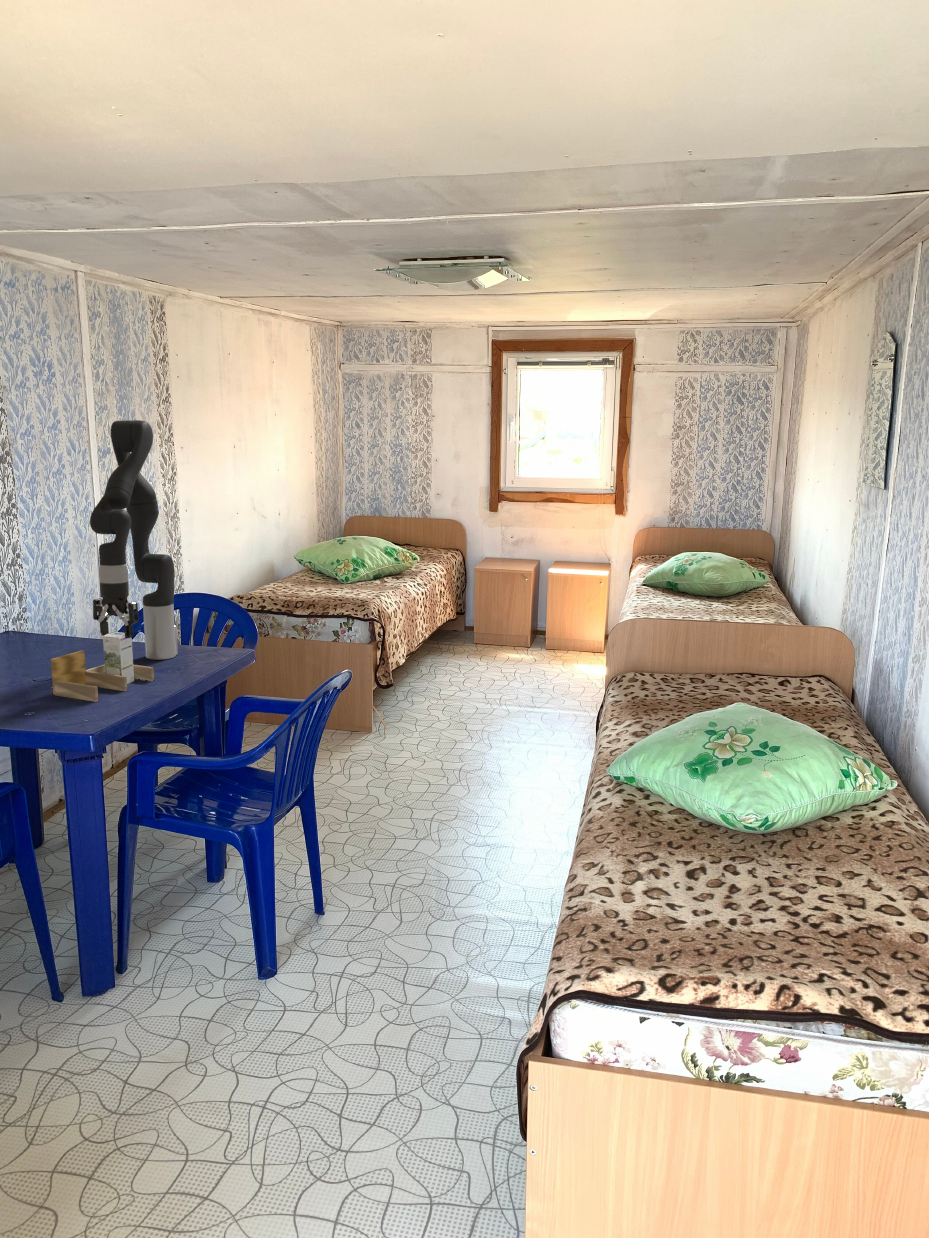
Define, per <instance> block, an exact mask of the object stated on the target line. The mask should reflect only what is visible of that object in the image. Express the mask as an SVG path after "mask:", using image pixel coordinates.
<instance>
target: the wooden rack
mask: <svg viewBox="0 0 929 1238" xmlns="http://www.w3.org/2000/svg"><path fill="white" fill-rule="evenodd" d="M85 653H86V651H85V650H78V651H75V652H71V653H68V654H67V653H66V654H64V655H59V656H56V657H53V658H50V667H51V669H50V670H51V680H52V681H51V682H52V694H53V695H54V696H56V697H57V696H58V697H63V698H71V699H76V700H82V701H89V702H95V703H96V702H99V691H98V688H103V689H107V690H115V691H121V692H126V691H128V684H127V676H120V675H113V674H106V673H105V663H104V664H101V665H98V666H95V667H92V668H89V669H87V667H86V654H85ZM133 670H134V680H138V679H140V681H145V680H148V681H147V682H154V681H155V677H154V676H155V669H154V667H153V666H148V665H147V666H145V665H139V664H133ZM153 680H154V681H153Z"/></svg>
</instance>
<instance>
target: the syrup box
mask: <svg viewBox="0 0 929 1238" xmlns="http://www.w3.org/2000/svg"><path fill="white" fill-rule="evenodd" d="M132 638H133V637H132ZM132 638H125V632H117V631H113V632H110V633H109V634H106V635H104V636H102V642H103V643H102V645H103V656H104V657H103V659H104V664H105V673H106V674H113V675H120V676H127V685H129V684H131V683H134V682H135V679H134V670H133V665H134V657H133V640H132Z"/></svg>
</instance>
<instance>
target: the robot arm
mask: <svg viewBox="0 0 929 1238" xmlns="http://www.w3.org/2000/svg"><path fill="white" fill-rule="evenodd" d="M110 439H111V445H112V448H113V453H114V456H115V459H116V464H117V467H116V468H115V469H114V470H113V471H112V473H111V475H110V476H109V477H108V480H107V483H106V486H105V490H104V494H103V496H102V497H101V498H100V499H99V502H98V503H97V504H96V506H95V507H94V508H93V510H92V512H91V515H90V517H89V525H90V528H91V530H92V531H93V532H94V533H95V534H99V535H115V537H114V539H113V541H110V542H104V543H101V544H100V545H99V546H98V558H99V568H98V579H99V595H100V597H101V598H96V599H93V600H92V618H93V620H95V621H97V622H98V623H99V631H100V635H101V636H102V637H103V636H104V635H106V634H109V630H110V629H109V622H108V620H109V619H110V617H112V616H113V617H118V618H119V620H121V621H122V622H123V624H124V633H125V638H133V636H134V624H136V623H137V624H138V623H139V622H140V618H139V617H140V615H139V609H138V608H139V606H138V602H137V601H133V602H129V601H128V597H129V595H130V592H129V591H130V590H129V573H128V571H129V570H128V567H127V544H128V538H129V534H131V542H132V552H133V553H132V554H133V562H134V563H133V564H134V571H135V576H136V577H137V579H138V580H139V581H140V582H142V583H145V584H146V583H147V584H157V588H156V589H155V590H154V591H152V592H150V593H147V594H144V595H143V597H142V608H143V609H142V610H143V612H142V613H143V628H144V629H143V630H144V644H145V645H144V646H145V647H144V648H145V658H146V659H149V660H169V659H172V658H174V657H175V658H176V655H178V654H179V651H178V650H179V649H178V632H177V625H175V610H174V608H175V607H174V604H175V603H174V597H175V563H174V560H173V558H172V556H171V555H169V554H165V553H164V554H163V553H162V554H161V553H151V552H150V549H149V548H150V547H149V545H150V544H149V539H150V537H151V536H150V535H151V533H152V532H153V529H154V527H155V526H156V523H157V520H158V518H159V512H160V511H159V505H158V500H157V494H156V491H155V489H154V487H153V486H152V485H151V484H150V482H149V481H148V480H147V479H146V478H145V476H144V475H142V474H141V470H142V468H143V467H144V465H145V462H146V460H147V458H148V456H149V454H150V451H151V449H152V446H153V442H154V441H153V440H154V432H153V428H152V426H151V424H150V423H149V422H148V421H145V420H135V419H134V420H133V419H131V420H130V419H129V420H127V419H126V420H115V421H113V422H112V423H111V425H110Z"/></svg>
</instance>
